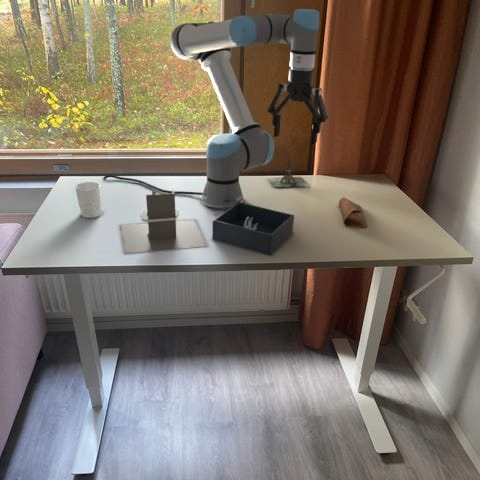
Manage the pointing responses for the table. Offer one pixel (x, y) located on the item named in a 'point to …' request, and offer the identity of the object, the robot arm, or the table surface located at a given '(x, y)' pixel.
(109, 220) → the table surface
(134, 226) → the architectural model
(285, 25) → the robot arm
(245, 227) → the soldier figure
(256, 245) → the tote
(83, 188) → the white cup
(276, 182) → the eiffel tower figurine
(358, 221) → the sunglasses case
